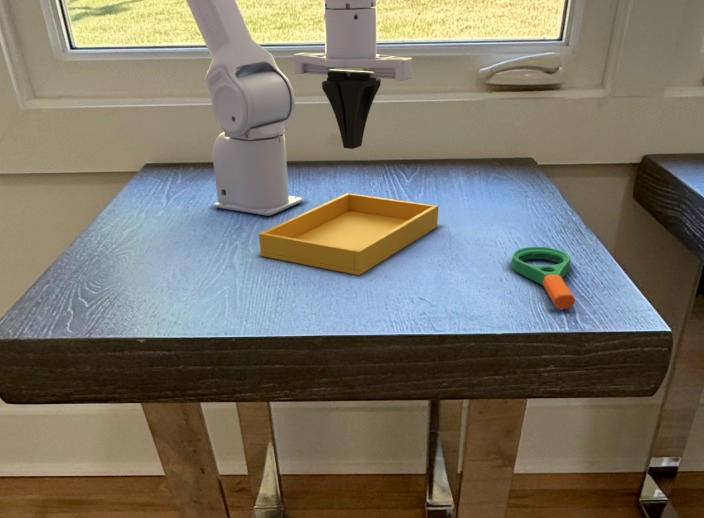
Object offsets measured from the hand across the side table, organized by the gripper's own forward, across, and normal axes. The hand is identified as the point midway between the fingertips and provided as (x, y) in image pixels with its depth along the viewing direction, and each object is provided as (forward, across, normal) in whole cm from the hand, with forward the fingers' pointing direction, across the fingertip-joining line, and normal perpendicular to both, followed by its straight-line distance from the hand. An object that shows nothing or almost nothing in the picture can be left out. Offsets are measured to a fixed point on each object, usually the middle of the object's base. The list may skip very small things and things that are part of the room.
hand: (352, 147), depth 84 cm
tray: (+9, +4, -6) cm, 11 cm away
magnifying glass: (+9, +28, -8) cm, 31 cm away
